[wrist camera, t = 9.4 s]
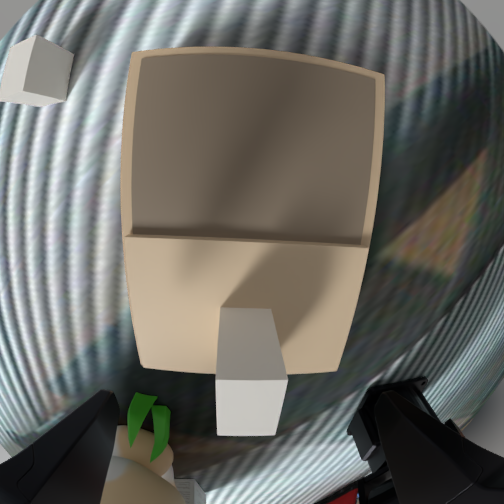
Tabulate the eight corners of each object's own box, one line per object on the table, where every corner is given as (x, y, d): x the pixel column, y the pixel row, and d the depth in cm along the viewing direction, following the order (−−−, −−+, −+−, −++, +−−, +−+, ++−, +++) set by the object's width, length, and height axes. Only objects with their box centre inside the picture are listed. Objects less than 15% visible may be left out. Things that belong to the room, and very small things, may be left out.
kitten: (86, 365, 16) (13, 533, 2) (214, 407, 18) (212, 595, 4) (95, 447, 20) (67, 551, 6) (180, 473, 22) (173, 581, 8)
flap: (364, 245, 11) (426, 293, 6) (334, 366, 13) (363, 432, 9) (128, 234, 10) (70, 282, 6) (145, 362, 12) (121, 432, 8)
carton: (352, 90, 12) (385, 74, 8) (320, 332, 16) (338, 369, 13) (154, 74, 11) (131, 51, 7) (155, 327, 15) (140, 366, 12)
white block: (133, 42, 10) (102, 8, 6) (120, 150, 12) (77, 150, 8) (16, 75, 10) (-26, 66, 5) (6, 165, 12) (-40, 173, 7)
